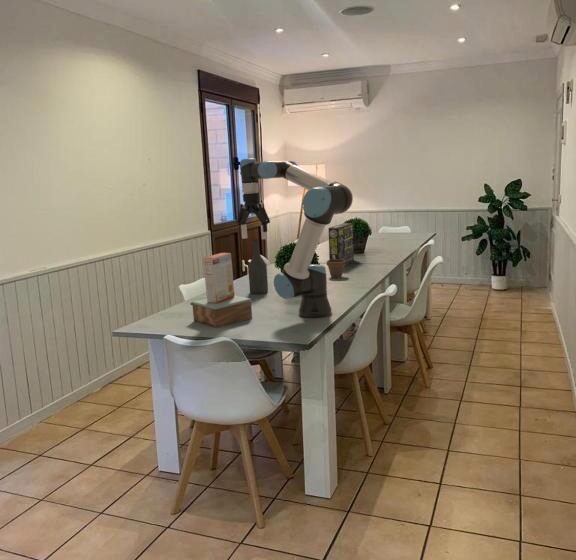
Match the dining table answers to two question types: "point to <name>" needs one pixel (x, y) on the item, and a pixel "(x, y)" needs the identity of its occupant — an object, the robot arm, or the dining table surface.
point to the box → (341, 242)
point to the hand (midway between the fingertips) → (254, 238)
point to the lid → (222, 304)
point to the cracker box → (218, 277)
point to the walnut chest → (222, 314)
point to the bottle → (257, 272)
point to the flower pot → (336, 267)
